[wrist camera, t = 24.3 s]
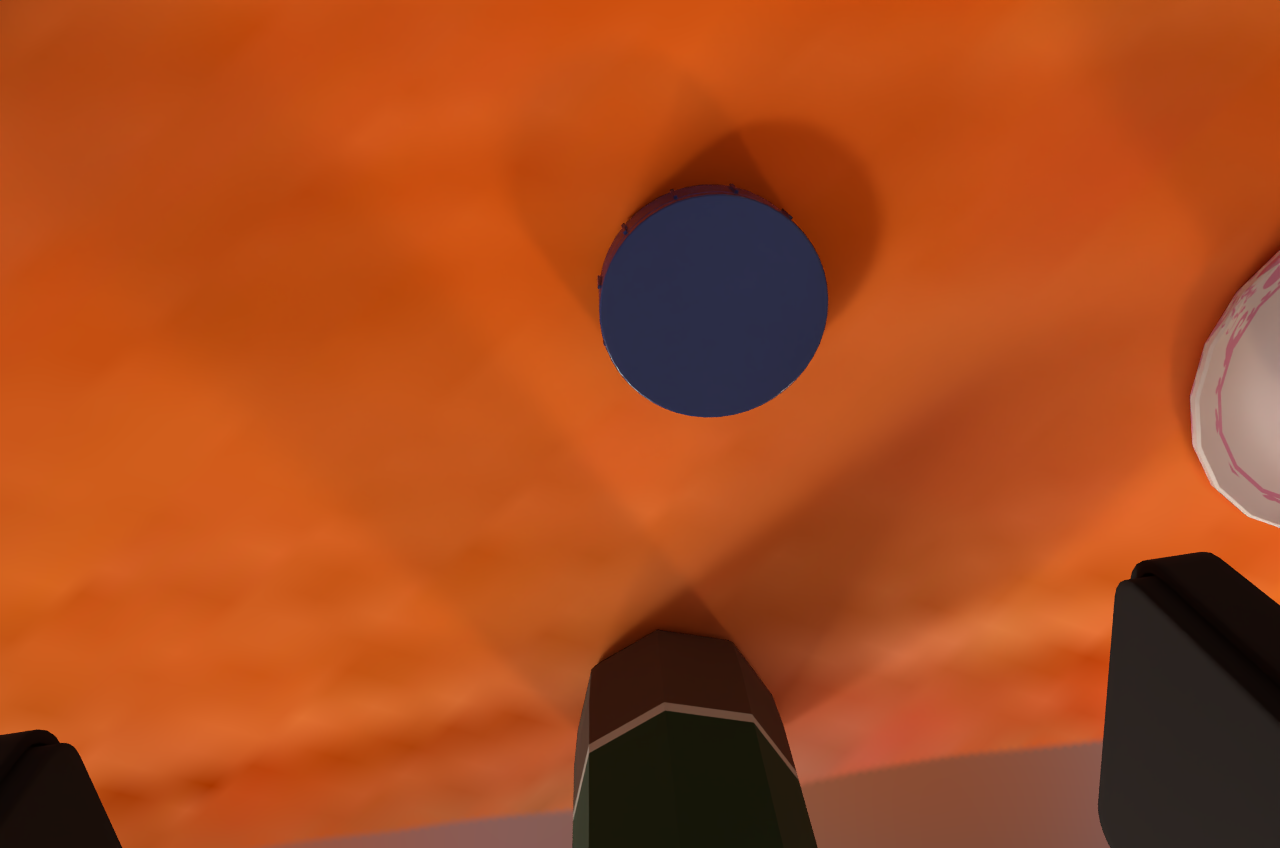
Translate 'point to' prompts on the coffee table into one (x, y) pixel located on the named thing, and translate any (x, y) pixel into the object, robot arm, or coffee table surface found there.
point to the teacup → (1243, 399)
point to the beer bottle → (684, 753)
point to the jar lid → (711, 301)
